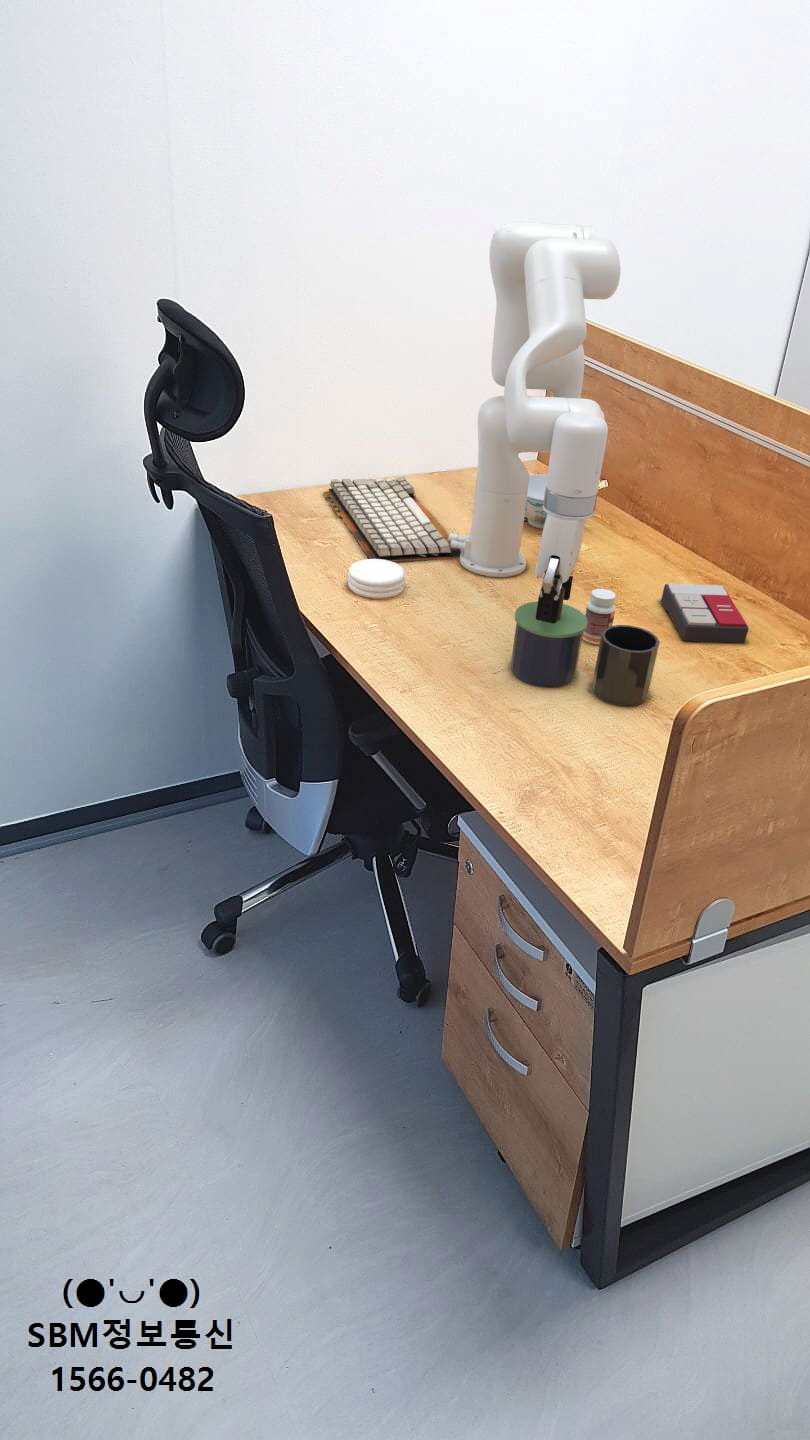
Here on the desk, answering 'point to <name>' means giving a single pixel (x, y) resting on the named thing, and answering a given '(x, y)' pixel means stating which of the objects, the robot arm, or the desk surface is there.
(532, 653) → the tin
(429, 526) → the mechanical keyboard
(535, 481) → the chinaware
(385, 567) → the white round stack
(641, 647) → the cup
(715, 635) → the calculator
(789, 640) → the desk surface
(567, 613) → the lid
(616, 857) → the desk surface
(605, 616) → the pill bottle
